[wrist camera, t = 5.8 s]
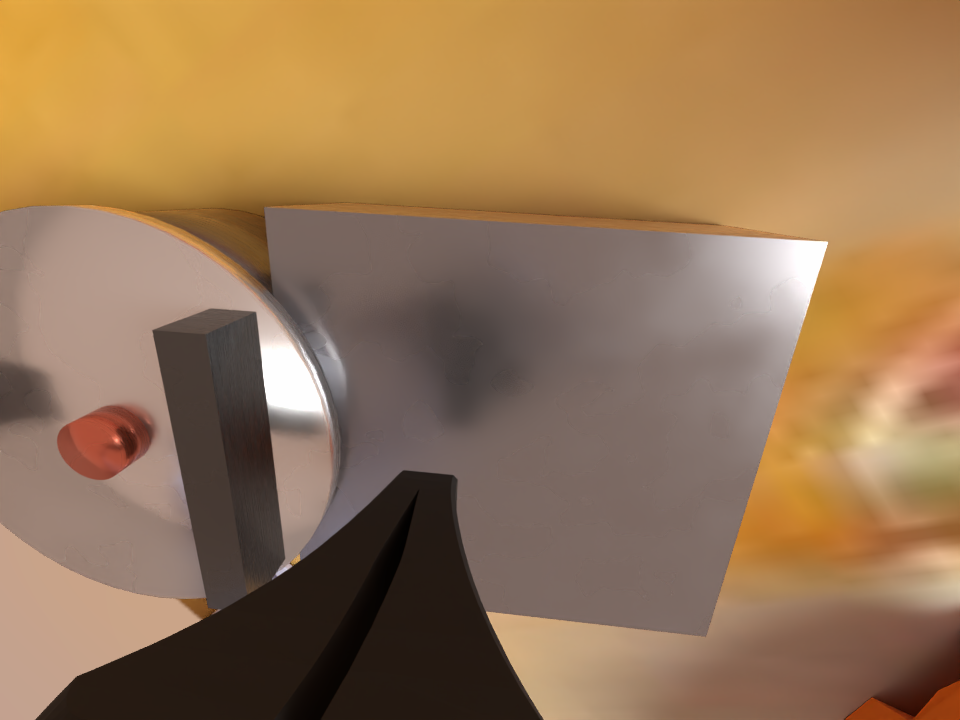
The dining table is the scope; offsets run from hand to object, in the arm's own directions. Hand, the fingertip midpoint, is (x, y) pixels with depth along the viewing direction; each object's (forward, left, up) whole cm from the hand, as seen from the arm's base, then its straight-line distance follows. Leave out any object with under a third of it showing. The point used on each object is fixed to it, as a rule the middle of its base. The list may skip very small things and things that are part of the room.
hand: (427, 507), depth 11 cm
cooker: (-3, +3, -9) cm, 10 cm away
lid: (-6, +7, -3) cm, 10 cm away
